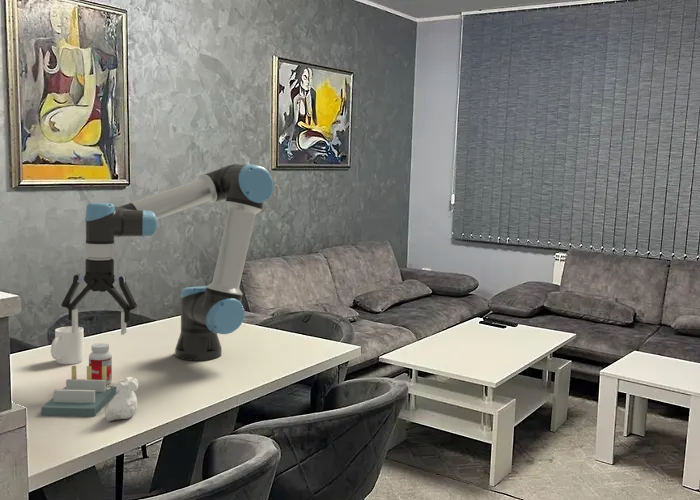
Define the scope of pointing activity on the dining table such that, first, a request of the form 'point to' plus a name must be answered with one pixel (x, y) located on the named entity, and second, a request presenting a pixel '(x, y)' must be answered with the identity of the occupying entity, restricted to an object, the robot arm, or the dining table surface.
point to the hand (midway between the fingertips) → (99, 332)
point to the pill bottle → (100, 361)
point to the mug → (68, 345)
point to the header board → (80, 396)
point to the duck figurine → (123, 400)
